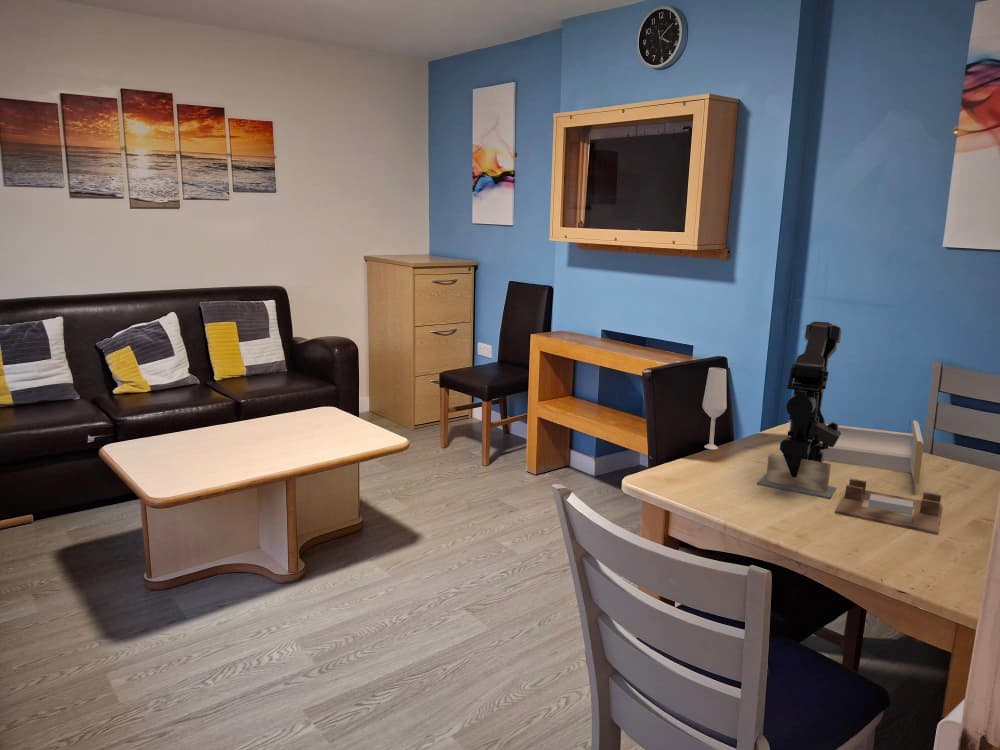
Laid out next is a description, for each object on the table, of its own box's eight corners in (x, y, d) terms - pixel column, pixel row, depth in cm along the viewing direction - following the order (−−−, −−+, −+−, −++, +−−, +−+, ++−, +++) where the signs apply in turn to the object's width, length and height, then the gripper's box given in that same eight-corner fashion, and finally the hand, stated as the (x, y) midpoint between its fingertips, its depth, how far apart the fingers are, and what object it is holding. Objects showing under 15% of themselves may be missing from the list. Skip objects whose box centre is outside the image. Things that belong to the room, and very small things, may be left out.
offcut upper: (868, 507, 160) (869, 499, 159) (869, 501, 163) (870, 493, 163) (912, 515, 156) (913, 507, 155) (911, 508, 159) (913, 501, 159)
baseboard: (918, 489, 175) (924, 441, 174) (904, 487, 177) (910, 440, 175) (913, 463, 203) (919, 421, 201) (902, 461, 204) (907, 419, 202)
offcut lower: (860, 513, 161) (861, 505, 160) (863, 507, 165) (864, 499, 164) (911, 524, 155) (912, 516, 155) (913, 517, 159) (914, 509, 159)
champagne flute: (727, 453, 207) (734, 371, 203) (706, 453, 206) (712, 371, 202) (715, 446, 214) (722, 366, 209) (694, 447, 212) (701, 367, 208)
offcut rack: (834, 513, 162) (836, 497, 162) (848, 489, 179) (849, 475, 178) (937, 534, 151) (940, 518, 151) (942, 507, 168) (944, 492, 167)
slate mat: (756, 484, 181) (756, 482, 180) (765, 475, 188) (765, 473, 188) (829, 498, 171) (830, 497, 171) (836, 488, 179) (836, 487, 179)
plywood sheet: (766, 480, 182) (768, 456, 181) (768, 477, 185) (771, 453, 183) (825, 492, 175) (828, 466, 173) (827, 489, 177) (830, 463, 176)
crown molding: (918, 436, 197) (920, 430, 194) (916, 476, 192) (919, 471, 189) (795, 422, 209) (795, 416, 206) (790, 459, 204) (791, 454, 201)
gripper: (833, 424, 164) (826, 489, 167) (846, 409, 180) (839, 469, 182) (782, 416, 170) (776, 479, 173) (799, 403, 186) (792, 461, 188)
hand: (797, 472), depth 179 cm, fingers open, 8 cm apart
